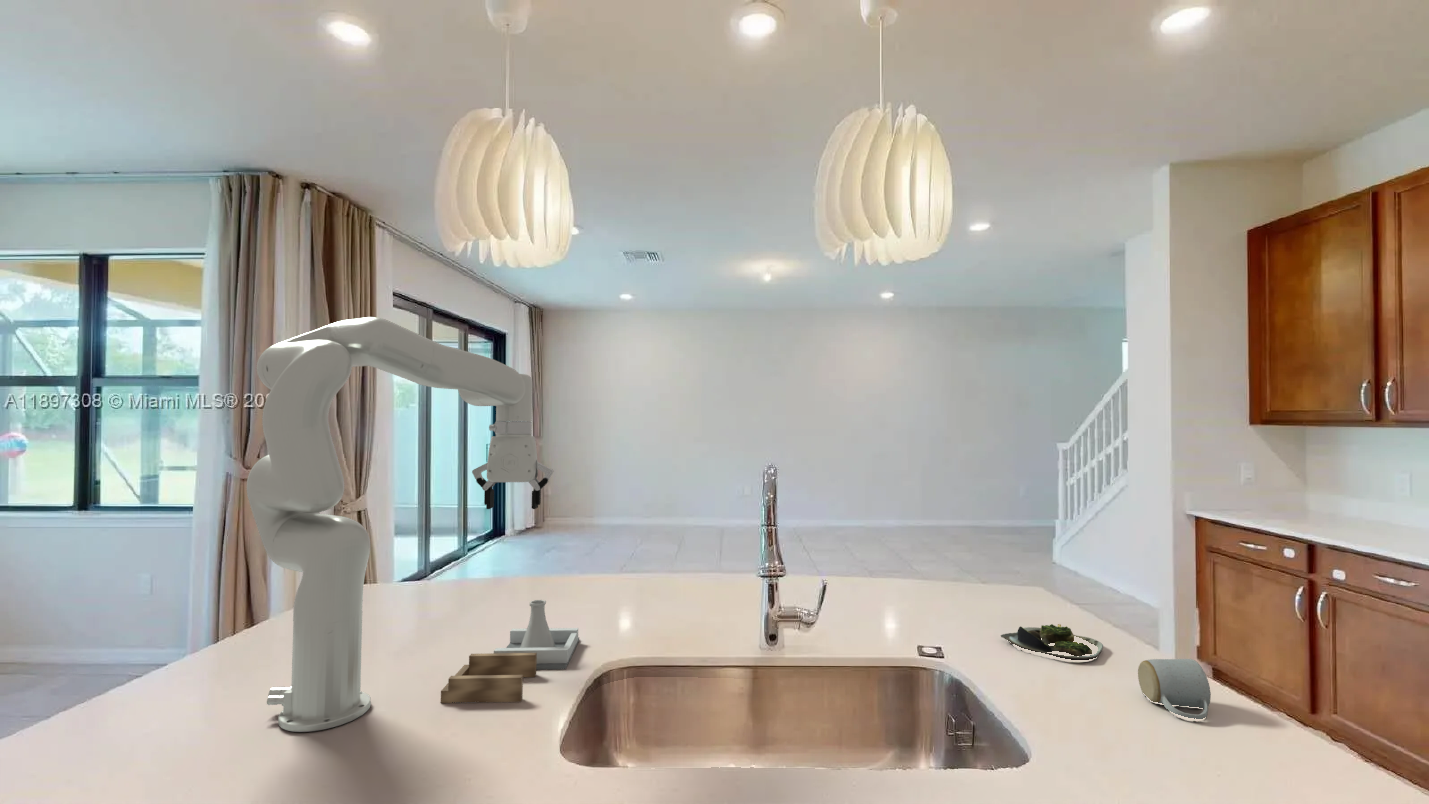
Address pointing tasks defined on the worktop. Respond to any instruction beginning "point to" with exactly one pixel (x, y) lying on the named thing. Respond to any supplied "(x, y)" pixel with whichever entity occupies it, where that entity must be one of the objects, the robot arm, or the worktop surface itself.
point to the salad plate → (1053, 641)
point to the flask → (537, 628)
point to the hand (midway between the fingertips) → (512, 508)
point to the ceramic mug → (1175, 684)
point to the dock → (549, 655)
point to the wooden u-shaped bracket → (490, 678)
